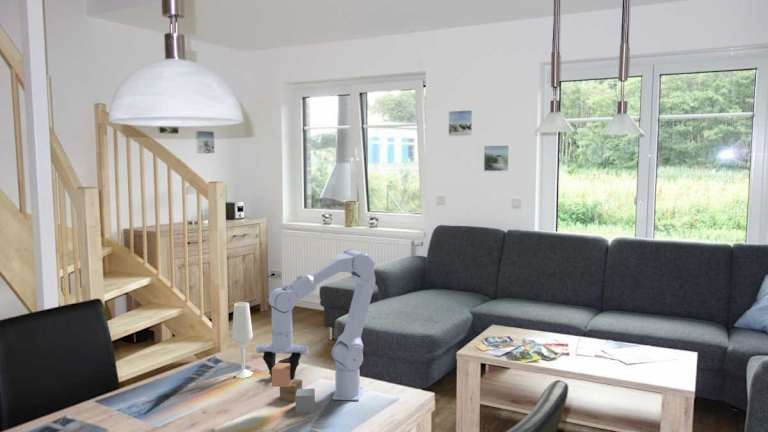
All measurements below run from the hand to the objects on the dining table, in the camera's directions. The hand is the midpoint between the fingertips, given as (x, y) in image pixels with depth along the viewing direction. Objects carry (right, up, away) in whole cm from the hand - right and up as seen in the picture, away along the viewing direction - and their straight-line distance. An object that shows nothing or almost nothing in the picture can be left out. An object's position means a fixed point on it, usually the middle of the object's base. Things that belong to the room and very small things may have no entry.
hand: (283, 378), depth 168 cm
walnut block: (+1, -9, +9) cm, 13 cm away
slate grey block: (+6, -9, +2) cm, 11 cm away
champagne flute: (-18, -7, +28) cm, 34 cm away
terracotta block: (0, -2, 0) cm, 2 cm away
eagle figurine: (-4, -7, +26) cm, 27 cm away
